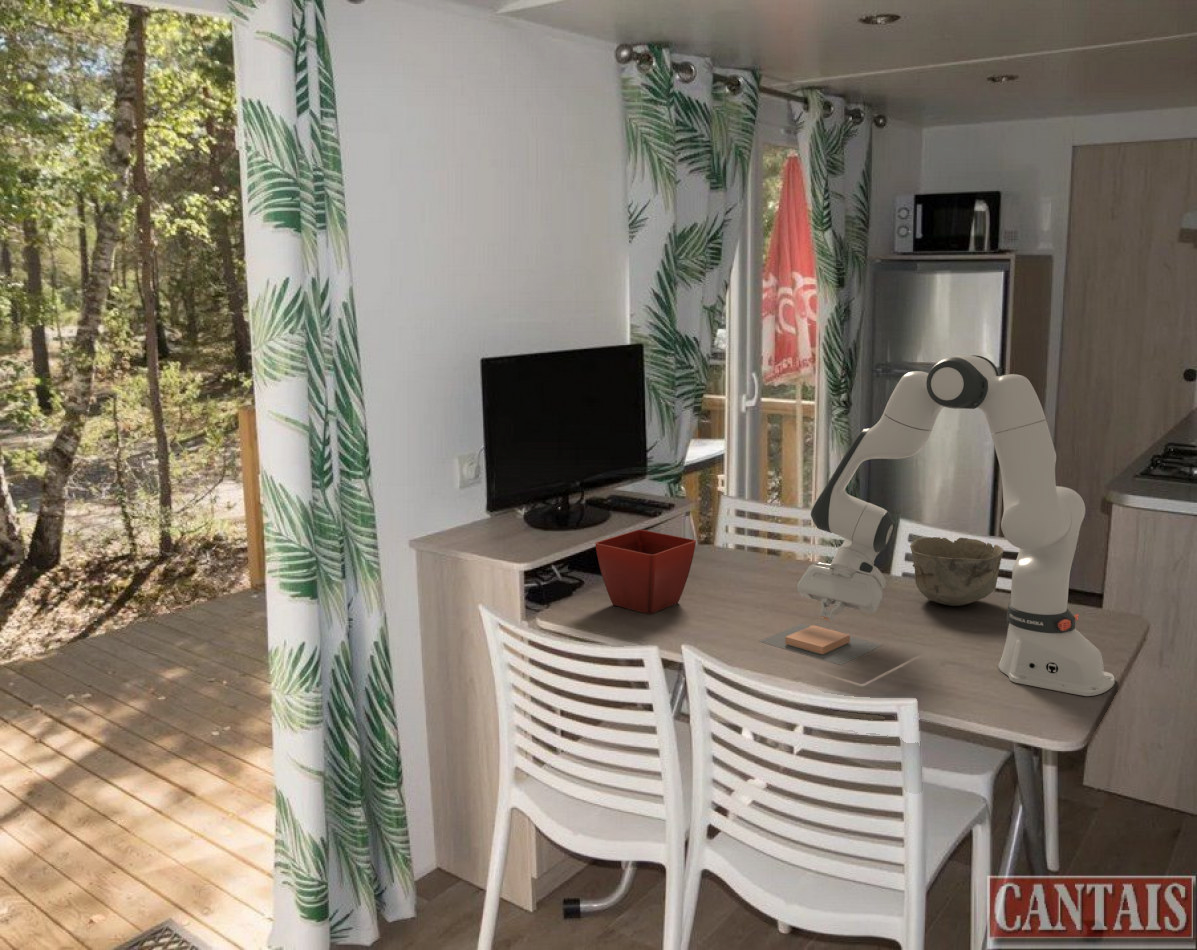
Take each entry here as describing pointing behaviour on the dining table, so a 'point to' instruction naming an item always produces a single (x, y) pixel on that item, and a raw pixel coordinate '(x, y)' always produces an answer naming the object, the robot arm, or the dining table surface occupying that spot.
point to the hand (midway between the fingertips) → (825, 618)
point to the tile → (817, 639)
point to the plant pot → (645, 569)
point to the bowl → (955, 569)
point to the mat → (835, 656)
